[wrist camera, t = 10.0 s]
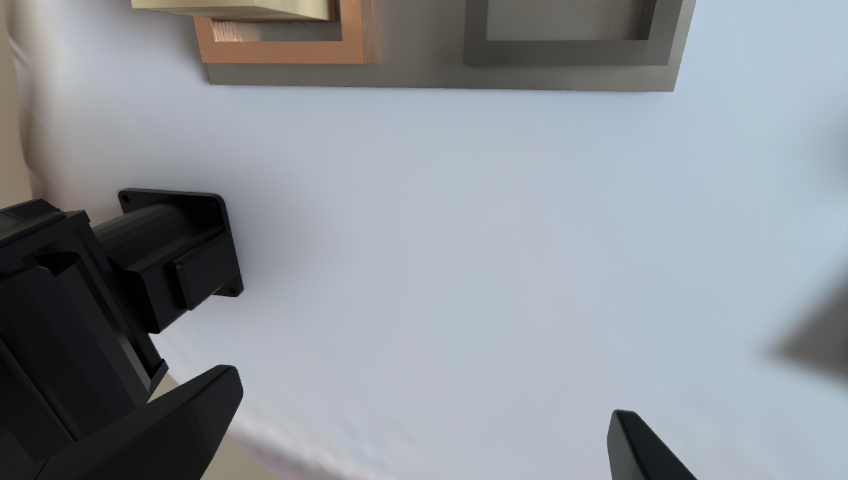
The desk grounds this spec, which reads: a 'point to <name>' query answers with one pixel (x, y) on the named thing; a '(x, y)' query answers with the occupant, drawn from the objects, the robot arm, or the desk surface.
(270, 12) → the wooden block
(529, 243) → the desk surface
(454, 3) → the base plate
